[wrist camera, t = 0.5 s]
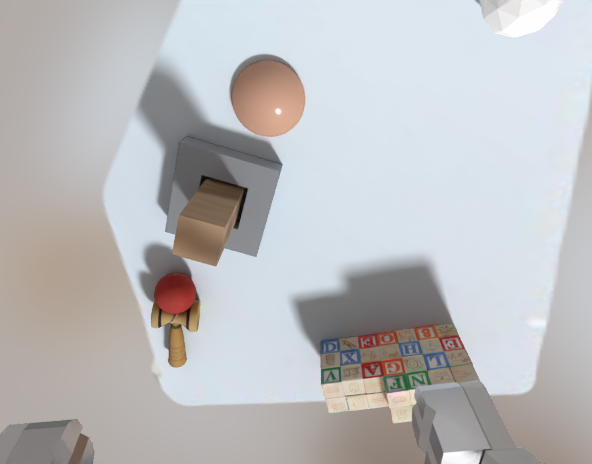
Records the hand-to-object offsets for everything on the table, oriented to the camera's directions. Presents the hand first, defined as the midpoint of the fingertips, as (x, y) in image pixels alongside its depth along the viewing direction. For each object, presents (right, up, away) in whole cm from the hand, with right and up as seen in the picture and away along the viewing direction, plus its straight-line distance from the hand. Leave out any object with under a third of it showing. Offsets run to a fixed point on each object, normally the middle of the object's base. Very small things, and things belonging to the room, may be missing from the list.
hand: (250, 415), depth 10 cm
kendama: (-17, -9, +57) cm, 60 cm away
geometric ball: (+24, +30, +35) cm, 52 cm away
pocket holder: (-9, +10, +47) cm, 49 cm away
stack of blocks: (+16, -14, +58) cm, 62 cm away
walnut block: (-9, +10, +47) cm, 49 cm away
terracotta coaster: (-2, +21, +41) cm, 46 cm away
